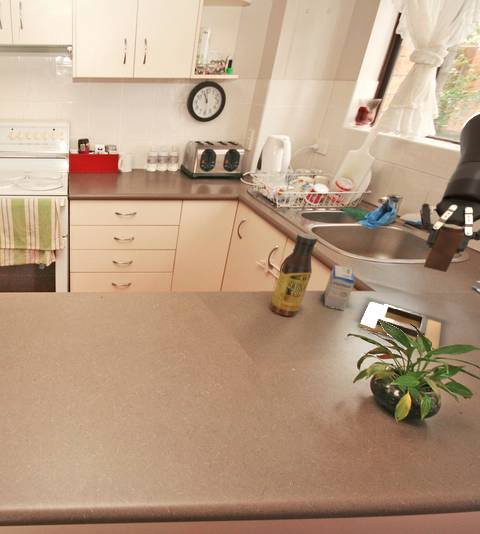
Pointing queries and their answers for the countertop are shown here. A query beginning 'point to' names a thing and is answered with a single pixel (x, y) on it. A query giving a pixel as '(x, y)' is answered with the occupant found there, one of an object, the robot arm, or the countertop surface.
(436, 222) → the robot arm
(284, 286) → the sauce bottle
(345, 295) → the medicine box
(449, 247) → the pad block
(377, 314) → the back plate
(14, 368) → the countertop surface
